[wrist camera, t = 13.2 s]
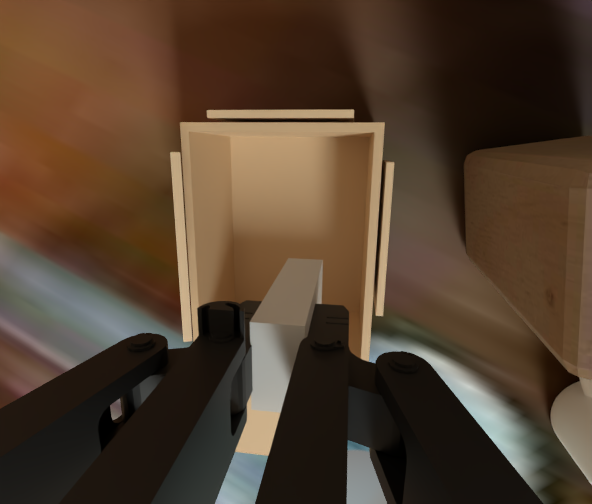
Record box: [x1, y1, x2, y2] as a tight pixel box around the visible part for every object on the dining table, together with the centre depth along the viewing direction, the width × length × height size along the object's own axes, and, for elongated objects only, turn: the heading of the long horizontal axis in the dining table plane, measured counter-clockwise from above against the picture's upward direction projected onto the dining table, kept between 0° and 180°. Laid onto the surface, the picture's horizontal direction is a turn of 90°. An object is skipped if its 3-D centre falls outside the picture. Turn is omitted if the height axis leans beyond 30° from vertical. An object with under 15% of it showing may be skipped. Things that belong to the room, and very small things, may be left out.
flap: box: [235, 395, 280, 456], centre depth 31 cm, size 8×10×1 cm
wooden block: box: [464, 136, 592, 380], centre depth 24 cm, size 10×10×20 cm
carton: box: [180, 110, 394, 362], centre depth 33 cm, size 19×15×10 cm
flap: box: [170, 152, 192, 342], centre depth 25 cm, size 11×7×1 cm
